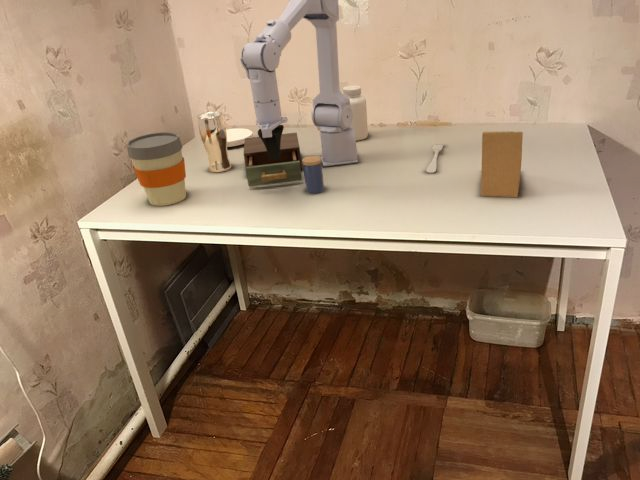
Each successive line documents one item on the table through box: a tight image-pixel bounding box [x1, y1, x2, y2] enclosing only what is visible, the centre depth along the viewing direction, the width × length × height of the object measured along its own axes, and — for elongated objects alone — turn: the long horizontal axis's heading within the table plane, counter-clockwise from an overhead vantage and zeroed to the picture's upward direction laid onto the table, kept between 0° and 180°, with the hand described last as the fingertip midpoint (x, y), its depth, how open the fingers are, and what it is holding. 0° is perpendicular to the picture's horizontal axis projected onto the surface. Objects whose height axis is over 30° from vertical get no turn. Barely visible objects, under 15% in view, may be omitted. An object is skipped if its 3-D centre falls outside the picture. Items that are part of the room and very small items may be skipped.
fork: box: [426, 144, 444, 174], centre depth 155 cm, size 3×21×3 cm, turn 167°
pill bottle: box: [342, 85, 369, 142], centre depth 173 cm, size 8×8×15 cm
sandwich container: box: [480, 130, 524, 198], centre depth 134 cm, size 9×15×15 cm, turn 166°
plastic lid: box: [226, 127, 254, 148], centre depth 181 cm, size 14×14×2 cm
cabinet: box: [243, 132, 304, 172], centre depth 158 cm, size 14×15×7 cm
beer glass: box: [197, 111, 232, 173], centre depth 157 cm, size 7×7×15 cm
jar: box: [301, 155, 325, 195], centre depth 140 cm, size 5×5×8 cm
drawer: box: [245, 150, 303, 187], centre depth 148 cm, size 17×13×5 cm
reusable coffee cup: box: [126, 131, 187, 207], centre depth 141 cm, size 12×12×15 cm
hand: (275, 158), depth 135 cm, fingers closed
